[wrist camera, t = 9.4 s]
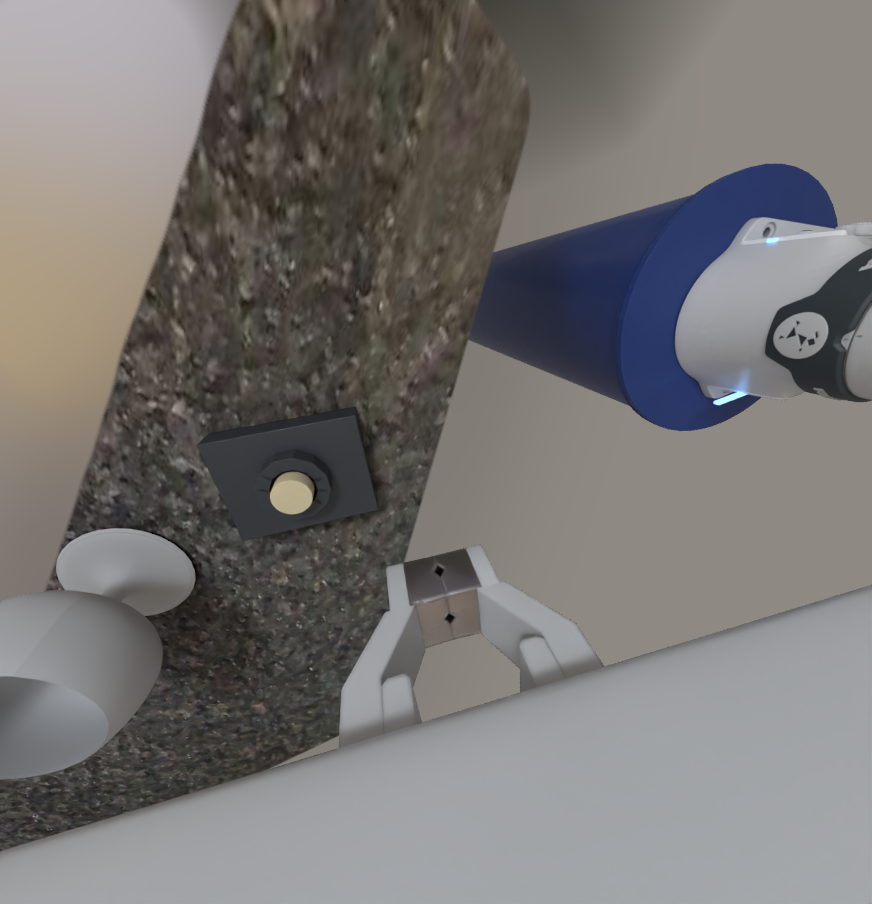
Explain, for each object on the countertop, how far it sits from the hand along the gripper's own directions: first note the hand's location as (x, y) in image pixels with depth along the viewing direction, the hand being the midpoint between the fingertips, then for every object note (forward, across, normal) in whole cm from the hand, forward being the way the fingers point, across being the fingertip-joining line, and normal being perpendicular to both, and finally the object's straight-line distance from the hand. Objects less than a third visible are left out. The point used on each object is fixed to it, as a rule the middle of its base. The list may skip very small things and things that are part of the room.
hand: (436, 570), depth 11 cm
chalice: (+26, +30, +16) cm, 43 cm away
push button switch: (+22, +10, +8) cm, 25 cm away
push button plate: (+26, +10, +8) cm, 29 cm away
